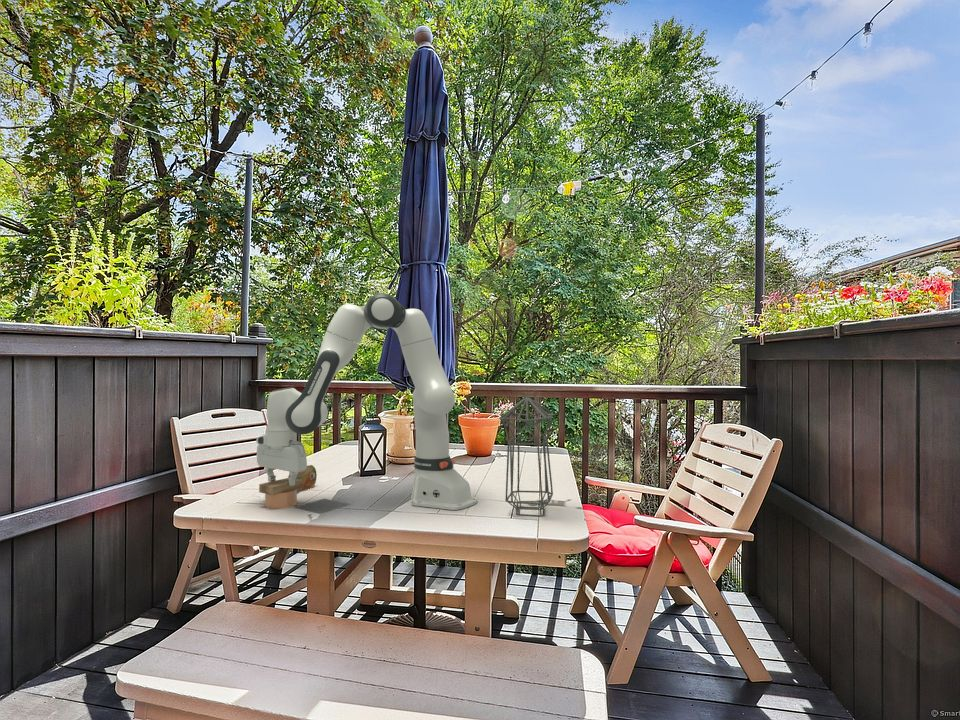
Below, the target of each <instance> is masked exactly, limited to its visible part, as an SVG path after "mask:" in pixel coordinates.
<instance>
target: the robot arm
mask: <svg viewBox="0 0 960 720" xmlns="http://www.w3.org/2000/svg"><path fill="white" fill-rule="evenodd" d="M390 328H391V329H392V330H394V332H395V334H396V335H397V337H398V341H399V343H400V348H401V352H402V355H403V358H404V362H405V365H406V370H407V371H408V373H409V376H410V378H411V381H412V383H413V386H414V390H413V392H412V403H413V404H412V406H413V419H414V427H415V428H414V429H415V455H414V458H413V459H414V460H413V461H414V462H413V463H414V464H413V467H414V480H413V487H412V492H411V495H410V498H409V499H410V500H411V502H412V503H411V504H412V506H416V507H417V506H418V507H423V508H424V507H425V508H433V509H440V510H441V509H442V510H450V511H459V510H462V509H466V508H469V507H471V506H474V505H475V504H477V503H478V497H476V496H473V495H472V492H471V486H470V482H469V481H468V480H466V479H465V478H464V477H463V475H461V474H460V473H459V472H458V471H457V470H456V469H455V468H454V464H456V463H457V462H456V461H457V459H453V460H452V458H451V456H450V431H449V428H448V427H449V426H448V422H447V414H448V413H450V412H451V411H452V409H453V408H454V406H455V405H456V404H455V403H456V396H455V393H454V392H453V389H452V387H451V385H450V382H449V379H448V377H447V374H446V372H445V369H444V367H443V365H442V363H441V359H440V357H439V354H438V349H437V346H436V343H435V338H434V335H433V333H432V329H431V326H430V324H429V321H428V319H427V317H426V315H425V313H424V312H423V311H422V310H421V309H418V308H407V309H406V308H405V307H404V306H403V305H402V304H401V303H400V302H399V300H397V299H396V298H395V297H394V296H392V295H391V294H389V293H386V292H380V293H375V294H374V295H372V296H370V298H368V300H367V301H366V304H365V305H363V306H360V305H359V306H358V305H356V304H353V303H345V304H343V305H341V306H340V307H339V308H338V309H337V311H336V312H335V313H334V315H333V317H332V319H331V321H330V322H329V324H328V326H327V328H326V331H325V333H324V336H323V339H322V342H321V345H320V348H319V352H318V355H317V357H316V362H315V365H314V367H313V369H312V372H311V373H310V375H309V378H308V379H307V382H306V384H305V385H304V388H303V390H302V392H300V391H298V390H297V389H296V388H295V387H291V386H290V387H283V388H278V389H274V390H271V392H270V393H269V394H268V398H267V403H266V404H267V405H266V419H267V426H266V433H265V434H262V435H260V436H257V437H256V444H257V446H256V463H257V465H258V467H263V468H265V472H266V475H267V481H268V482H271V481H276V480H277V476H276V475H275V474H274V473H275V472H274V470H280V471H285V472H288V473H289V474H288V476H289V475H290V478H289V480H287V485H289V486H293V485H295V479H296V477H297V475H298V472H303V471H305V470H306V468H307V466H308V460H307V451H306V449H305V445H304V444H303V443H302V441H298V440H297V437H298V436H297V435H307V434H308V435H309V434H311V433H312V432H314V431H315V430H317V428H318V427H320V426H321V425H323V424H324V422H326V421H327V419H328V416H329V408H328V406H327V404H326V403H325V402H324V398H325V396H326V394H327V391H328V389H329V387H330V386H331V383H332V381H333V379H334V377H335V376H336V375H337V374H338V372H339V371H341V370H342V369H343V368H344V367H345V366H347V365H348V364H349V363H350V362H351V360H352V359H353V357H354V356H355V354H356V353H357V350H358V348H359V345H360V344H361V341H362V339H363V336H364V334H365V333H366V332H367V330H369V329H375V330H387V329H390Z"/></svg>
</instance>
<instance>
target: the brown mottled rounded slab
mask: <svg viewBox="0 0 960 720" xmlns="http://www.w3.org/2000/svg"><path fill="white" fill-rule="evenodd" d="M317 476H318V475H317V470H316V468H315V466H314V465H312V464H310V465H309V464H308V465H307V468H306V470H305V471H303V472H298V475H297V477H296V479H300V480H303V488H300V489H297V495H298V494H300V493H301V492H305V491H308V489H309V490H311V489H310V488H312V487H313V488H314V487H315V485H316V481H317ZM289 477H290V475H289V474H288V477H287V478H289ZM313 488H312V489H313Z"/></svg>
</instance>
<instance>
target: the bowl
mask: <svg viewBox="0 0 960 720" xmlns="http://www.w3.org/2000/svg"><path fill="white" fill-rule="evenodd" d="M297 500H298V494H297V489H296V490H292V491H288V492H284V493H280V494H276V495H269V494H264V504H265V508H267V509H275V510H277V509H279V510H280V509H287V508H290V507H295V506H296V504H297Z"/></svg>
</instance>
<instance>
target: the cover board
mask: <svg viewBox="0 0 960 720" xmlns="http://www.w3.org/2000/svg"><path fill="white" fill-rule="evenodd" d="M289 478H290V477H289ZM289 478H288V477H286V478H282V479H276V481H271V482H269V481H268V482H262V483H259V484H258V486H259V487H258V488H259V489H258V492H259V493H260V494H264V495H265V494H269V495H276V494H280V493H284V492H288V491H292V490H296V489H300V488H303V480H300V479H295V485H293V486H289V485H287V480H289Z"/></svg>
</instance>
